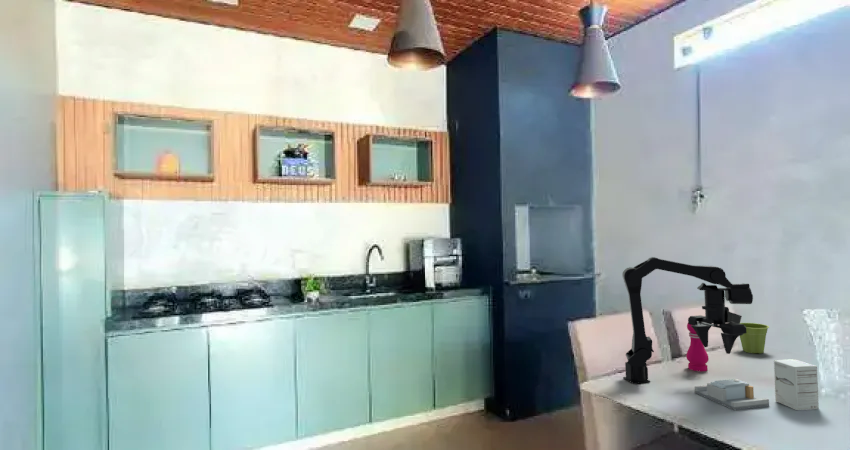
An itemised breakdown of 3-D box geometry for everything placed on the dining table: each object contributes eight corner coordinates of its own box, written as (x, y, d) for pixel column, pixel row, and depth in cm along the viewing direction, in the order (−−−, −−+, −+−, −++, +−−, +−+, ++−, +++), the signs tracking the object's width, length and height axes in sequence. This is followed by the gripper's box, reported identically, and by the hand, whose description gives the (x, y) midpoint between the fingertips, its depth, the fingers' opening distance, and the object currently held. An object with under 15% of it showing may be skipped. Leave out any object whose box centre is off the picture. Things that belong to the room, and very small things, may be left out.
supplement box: (774, 401, 138) (772, 359, 138) (797, 400, 138) (795, 358, 139) (796, 411, 130) (794, 366, 131) (820, 409, 131) (818, 365, 131)
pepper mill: (712, 372, 168) (710, 317, 168) (690, 371, 169) (688, 317, 170) (704, 366, 175) (702, 314, 175) (683, 366, 176) (681, 314, 177)
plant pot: (736, 347, 202) (735, 321, 202) (769, 350, 195) (768, 324, 196) (735, 353, 192) (734, 326, 193) (771, 356, 186) (769, 329, 186)
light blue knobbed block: (721, 400, 138) (720, 384, 138) (711, 395, 142) (710, 379, 142) (749, 397, 140) (748, 381, 140) (738, 392, 144) (737, 377, 144)
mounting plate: (734, 410, 132) (733, 395, 132) (694, 392, 147) (694, 379, 147) (769, 406, 135) (768, 391, 135) (726, 389, 149) (726, 376, 149)
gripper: (760, 306, 146) (762, 355, 145) (713, 298, 164) (715, 342, 164) (730, 308, 144) (732, 358, 143) (686, 300, 162) (687, 344, 162)
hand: (716, 350), depth 153 cm, fingers open, 9 cm apart
